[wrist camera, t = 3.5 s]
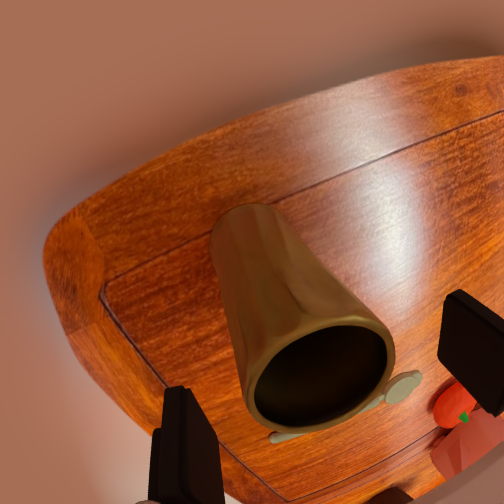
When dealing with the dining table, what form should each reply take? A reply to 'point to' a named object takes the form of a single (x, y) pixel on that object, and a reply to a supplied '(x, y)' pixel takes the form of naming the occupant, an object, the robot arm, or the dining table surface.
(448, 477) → the teapot
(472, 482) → the robot arm
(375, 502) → the flower pot
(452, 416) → the pumpkin
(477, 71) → the dining table surface
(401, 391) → the spoon
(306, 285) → the vase
